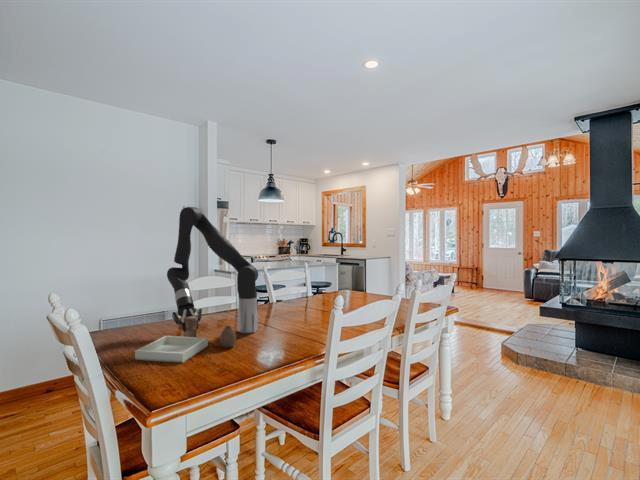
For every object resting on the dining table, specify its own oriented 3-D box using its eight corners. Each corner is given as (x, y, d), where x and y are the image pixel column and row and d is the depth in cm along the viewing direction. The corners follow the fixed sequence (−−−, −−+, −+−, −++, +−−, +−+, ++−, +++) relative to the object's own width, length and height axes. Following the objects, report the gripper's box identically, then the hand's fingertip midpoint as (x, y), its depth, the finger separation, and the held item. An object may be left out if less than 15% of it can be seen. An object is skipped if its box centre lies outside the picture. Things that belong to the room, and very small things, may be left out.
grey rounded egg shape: (239, 344, 148) (239, 325, 148) (230, 349, 142) (230, 329, 142) (226, 343, 151) (226, 323, 151) (216, 347, 144) (216, 327, 144)
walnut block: (193, 336, 160) (193, 315, 159) (196, 339, 156) (196, 317, 156) (183, 338, 157) (183, 316, 157) (186, 340, 153) (186, 318, 153)
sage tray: (207, 345, 147) (207, 337, 146) (182, 362, 127) (182, 353, 127) (165, 343, 149) (165, 335, 149) (135, 359, 130) (135, 350, 130)
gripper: (170, 297, 158) (176, 328, 148) (200, 294, 166) (208, 323, 157) (167, 306, 162) (173, 337, 153) (197, 302, 171) (204, 331, 161)
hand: (191, 329), depth 155 cm, fingers closed on walnut block, 4 cm apart
